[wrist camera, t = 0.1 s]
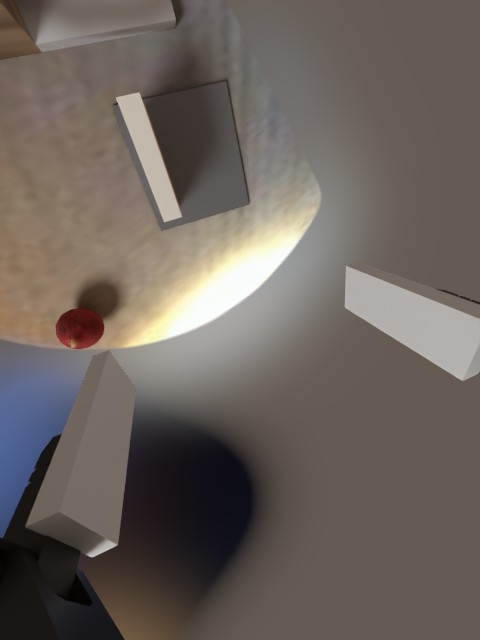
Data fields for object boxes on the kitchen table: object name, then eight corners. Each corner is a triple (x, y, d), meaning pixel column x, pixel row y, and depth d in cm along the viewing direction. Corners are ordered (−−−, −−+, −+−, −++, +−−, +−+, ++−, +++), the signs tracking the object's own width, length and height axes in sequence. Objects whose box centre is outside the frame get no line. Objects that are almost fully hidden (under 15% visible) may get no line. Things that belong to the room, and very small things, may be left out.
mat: (112, 107, 26) (111, 105, 26) (225, 82, 28) (226, 80, 28) (161, 230, 34) (161, 230, 34) (248, 204, 36) (249, 204, 36)
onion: (56, 312, 35) (32, 341, 28) (88, 293, 35) (72, 317, 29) (86, 338, 38) (70, 369, 32) (116, 320, 38) (107, 347, 32)
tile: (128, 126, 27) (115, 97, 19) (146, 121, 28) (141, 92, 19) (162, 214, 33) (164, 222, 24) (177, 210, 33) (183, 216, 25)
